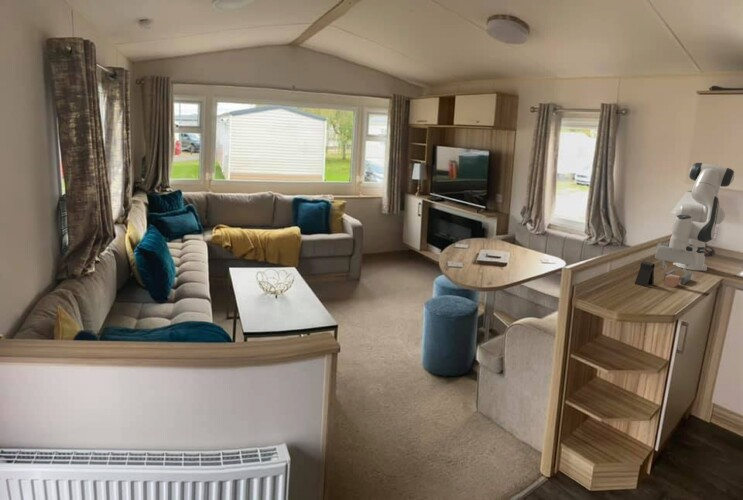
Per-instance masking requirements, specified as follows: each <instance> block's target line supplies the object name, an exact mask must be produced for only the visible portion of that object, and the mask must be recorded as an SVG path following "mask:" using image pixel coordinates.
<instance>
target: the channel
mask: <svg viewBox="0 0 743 500" xmlns="http://www.w3.org/2000/svg"><path fill="white" fill-rule="evenodd" d="M669 274H672V275H676V269H674V268H673V269H671V270H668V271H667V272H665V273H664V277H663V282H664V281H665V276H667V275H669ZM692 274H693V273H692V272H687V273H686V274H684V275H682V276H681V277H680V279H681V280H680V282H679V283H680V284H679V285H686V284H687V283H688V282H690V281H691V279H692Z"/></svg>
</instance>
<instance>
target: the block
mask: <svg viewBox="0 0 743 500" xmlns="http://www.w3.org/2000/svg"><path fill="white" fill-rule="evenodd" d="M664 276H665V275H664ZM680 279H681V276H680V275H676V274H674V275H672V274H669V275H667V276H665V281H664V280H663V285H664V286H665V287H671V288H675V287H677V286H679V285H680V284H679V283H680Z"/></svg>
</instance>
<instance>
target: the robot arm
mask: <svg viewBox="0 0 743 500" xmlns="http://www.w3.org/2000/svg"><path fill="white" fill-rule="evenodd" d="M688 175H689V178H690V180H691V181H694V184H693V186H692V188H691V193H690V194H691V196H692V199H693V200H694V201H695V202H697V203H698V204H690V203H689V204H688V203H687V204H686V203H685V204H680V205H679V206H678V207H677V209H676V211H675V218H674V221H673V225H672V229H671V236H670V240H669V243H667V242H659V243H657V244H656V252H655V255H654V257H655V259H656V260H660V261H661V264H662V269H664V270H666V269H667V267H668V265H667V264H666V263H665V262H672V265H673V266H676V267H678V268H682V269H681V273H686V272H687V270H691V271H703V272H707V271H708V265H707V264H706V262H705V260H706V256H705V250H706V248H705V247H706V246H705V245H706V243H708V242H711V241H712V240H713V239H714V237H715V235H716V225H720V224H721V223H722V222H724V220H725V217H726V214H725V211H724V209H723V208H721V207H720V205H719V203H720V201H719V198H718V195H719V191H720V189H721V187H722V188H723V187H724V188H726V187H729V186H730V185H731V184H732V183H733V182H734V180H735V171H734V169H731V168H730V167H724V166H722V165H718V164H711V163H702V162H696V163H693V165H691V166H690V168H689V171H688Z"/></svg>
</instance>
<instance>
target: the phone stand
mask: <svg viewBox="0 0 743 500" xmlns="http://www.w3.org/2000/svg"><path fill="white" fill-rule="evenodd" d="M634 284H635V285H639V286H643V287H650V286H653V285H654V284H655V263H651V262H648V261H643V260H642V261H641V263H640V267H639V270H638V273H637V276H636V278H635V282H634Z"/></svg>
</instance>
